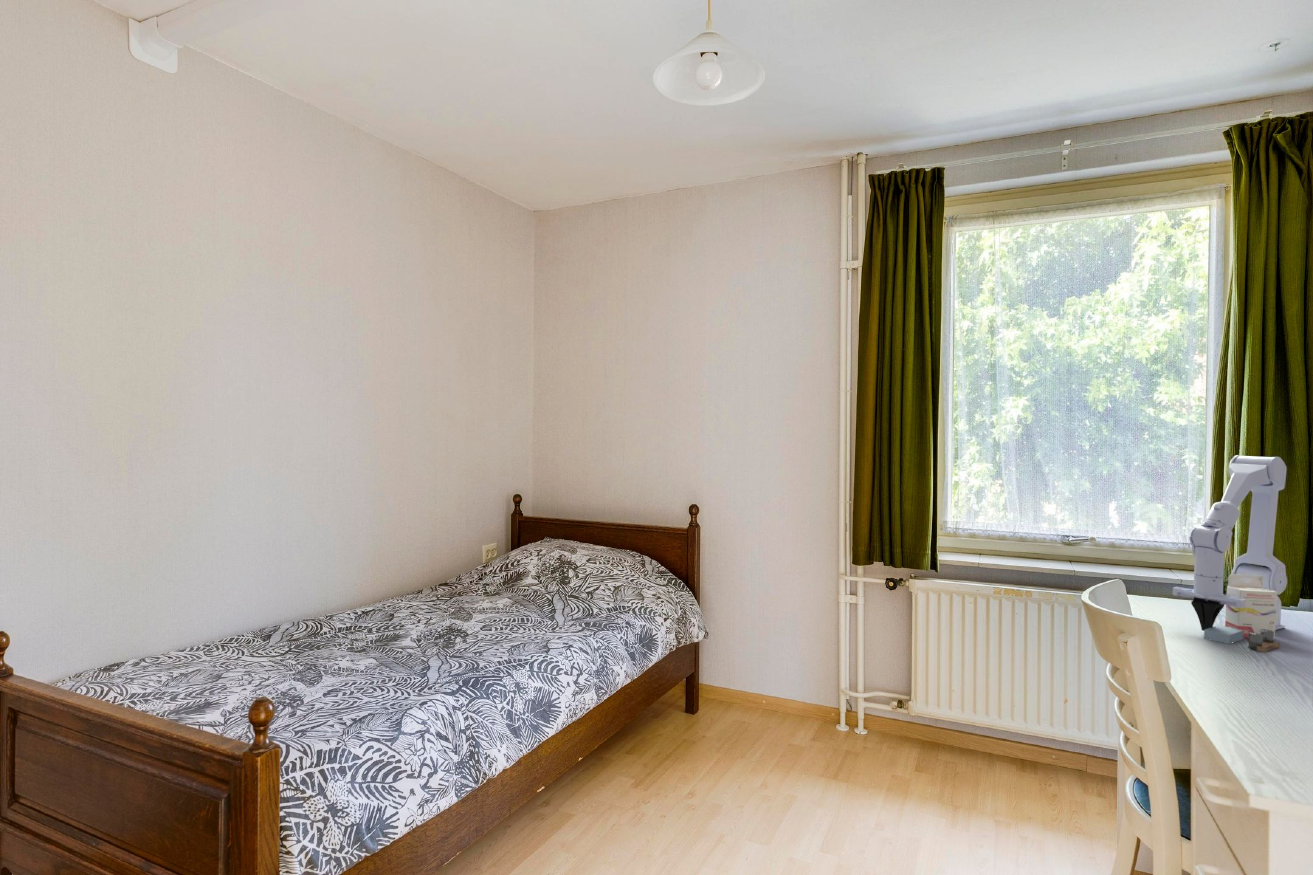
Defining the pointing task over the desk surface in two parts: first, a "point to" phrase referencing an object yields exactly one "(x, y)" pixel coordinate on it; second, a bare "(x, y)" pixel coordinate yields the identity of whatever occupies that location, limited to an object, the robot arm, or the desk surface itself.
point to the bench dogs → (1262, 641)
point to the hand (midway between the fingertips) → (1206, 630)
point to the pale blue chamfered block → (1223, 634)
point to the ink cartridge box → (1251, 605)
